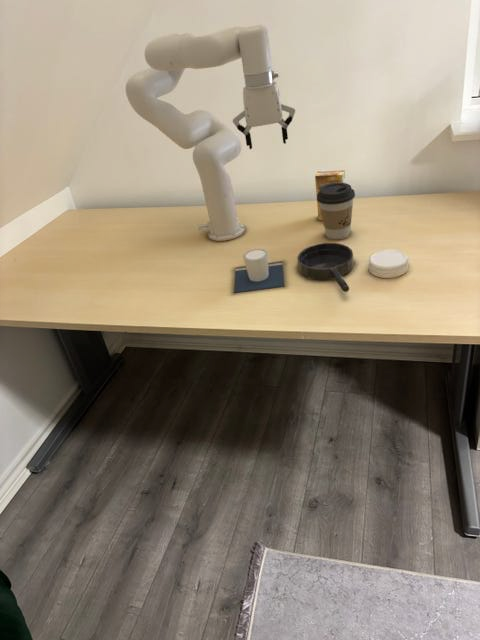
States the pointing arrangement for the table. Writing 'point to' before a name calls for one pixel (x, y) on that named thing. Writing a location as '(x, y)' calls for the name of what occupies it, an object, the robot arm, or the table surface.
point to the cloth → (272, 281)
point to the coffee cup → (336, 209)
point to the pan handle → (339, 279)
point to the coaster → (388, 263)
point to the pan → (325, 260)
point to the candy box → (327, 182)
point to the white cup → (256, 264)
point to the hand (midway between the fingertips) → (267, 145)
